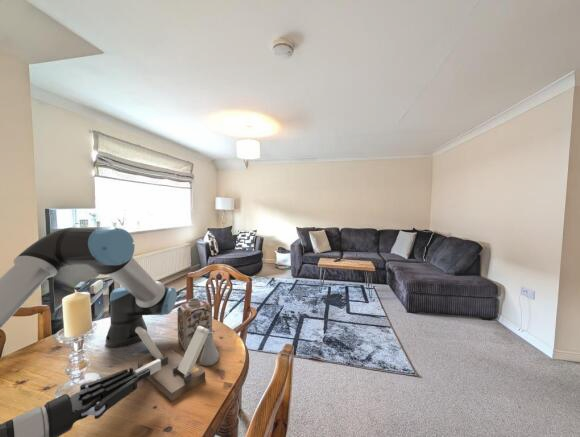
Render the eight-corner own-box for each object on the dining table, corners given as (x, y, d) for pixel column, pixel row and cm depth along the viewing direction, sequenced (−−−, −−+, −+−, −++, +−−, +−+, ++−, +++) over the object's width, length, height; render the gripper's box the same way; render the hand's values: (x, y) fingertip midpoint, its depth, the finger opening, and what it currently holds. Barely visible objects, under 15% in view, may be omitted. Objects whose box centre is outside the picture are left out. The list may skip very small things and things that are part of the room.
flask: (213, 367, 81) (212, 340, 81) (195, 365, 82) (194, 338, 82) (223, 355, 88) (222, 330, 88) (206, 353, 90) (205, 328, 89)
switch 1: (159, 362, 79) (140, 334, 74) (152, 356, 83) (132, 329, 78) (165, 357, 81) (146, 329, 76) (157, 352, 84) (138, 324, 79)
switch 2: (186, 376, 71) (207, 329, 78) (176, 368, 75) (197, 324, 81) (191, 376, 73) (211, 330, 79) (181, 369, 76) (201, 325, 82)
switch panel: (172, 401, 66) (171, 387, 66) (137, 369, 80) (137, 357, 80) (205, 379, 75) (205, 366, 75) (169, 354, 89) (169, 343, 89)
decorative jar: (184, 352, 91) (183, 307, 90) (177, 339, 100) (176, 299, 99) (213, 341, 98) (212, 300, 98) (204, 330, 107) (203, 293, 107)
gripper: (39, 424, 52) (150, 368, 72) (51, 459, 45) (171, 385, 64) (39, 392, 52) (149, 344, 72) (50, 421, 45) (170, 359, 64)
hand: (159, 363), depth 68 cm, fingers closed
